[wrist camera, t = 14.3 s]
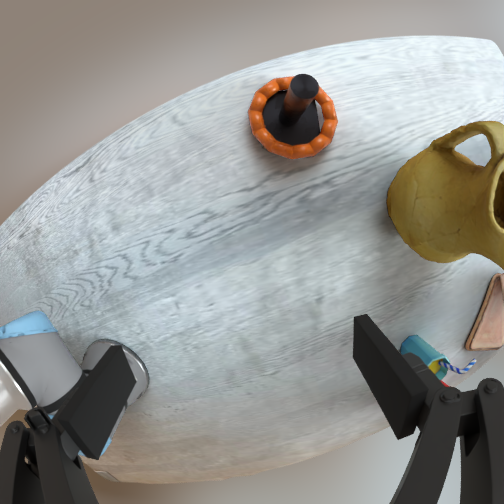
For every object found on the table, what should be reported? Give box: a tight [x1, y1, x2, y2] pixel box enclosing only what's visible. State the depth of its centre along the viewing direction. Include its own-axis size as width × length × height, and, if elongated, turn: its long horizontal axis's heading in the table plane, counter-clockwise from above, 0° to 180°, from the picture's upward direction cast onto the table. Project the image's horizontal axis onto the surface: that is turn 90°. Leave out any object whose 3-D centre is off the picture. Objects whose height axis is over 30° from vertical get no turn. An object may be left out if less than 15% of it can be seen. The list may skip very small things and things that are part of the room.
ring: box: [248, 76, 338, 159], centre depth 37 cm, size 13×13×2 cm
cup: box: [400, 335, 476, 380], centre depth 41 cm, size 14×8×15 cm, turn 117°
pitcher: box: [386, 121, 504, 270], centre depth 30 cm, size 17×19×25 cm
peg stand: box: [262, 74, 320, 149], centre depth 31 cm, size 9×9×15 cm
